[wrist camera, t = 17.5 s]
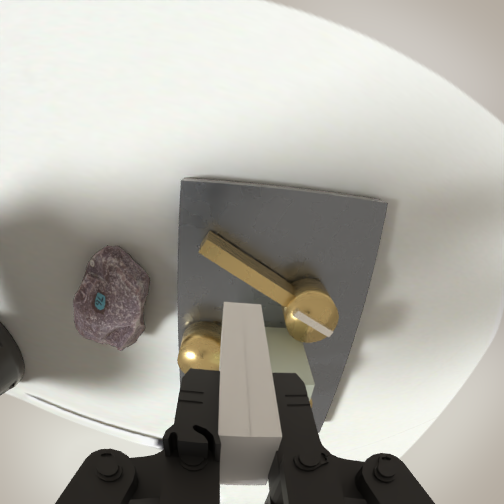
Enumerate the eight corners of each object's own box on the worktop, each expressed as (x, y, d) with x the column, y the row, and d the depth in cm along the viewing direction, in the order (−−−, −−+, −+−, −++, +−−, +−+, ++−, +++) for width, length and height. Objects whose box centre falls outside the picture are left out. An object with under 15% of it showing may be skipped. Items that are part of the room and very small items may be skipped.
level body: (239, 358, 35) (241, 422, 26) (243, 325, 33) (245, 388, 24) (291, 360, 35) (305, 422, 26) (298, 328, 34) (316, 389, 25)
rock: (161, 257, 32) (150, 275, 28) (144, 339, 36) (135, 363, 32) (94, 235, 31) (75, 249, 27) (85, 318, 35) (70, 339, 31)
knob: (337, 294, 32) (351, 317, 28) (307, 328, 33) (316, 354, 29) (220, 214, 29) (217, 228, 24) (191, 256, 30) (184, 276, 26)
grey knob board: (184, 419, 41) (180, 450, 35) (184, 177, 30) (172, 187, 24) (316, 422, 43) (324, 452, 37) (379, 199, 31) (406, 212, 25)
